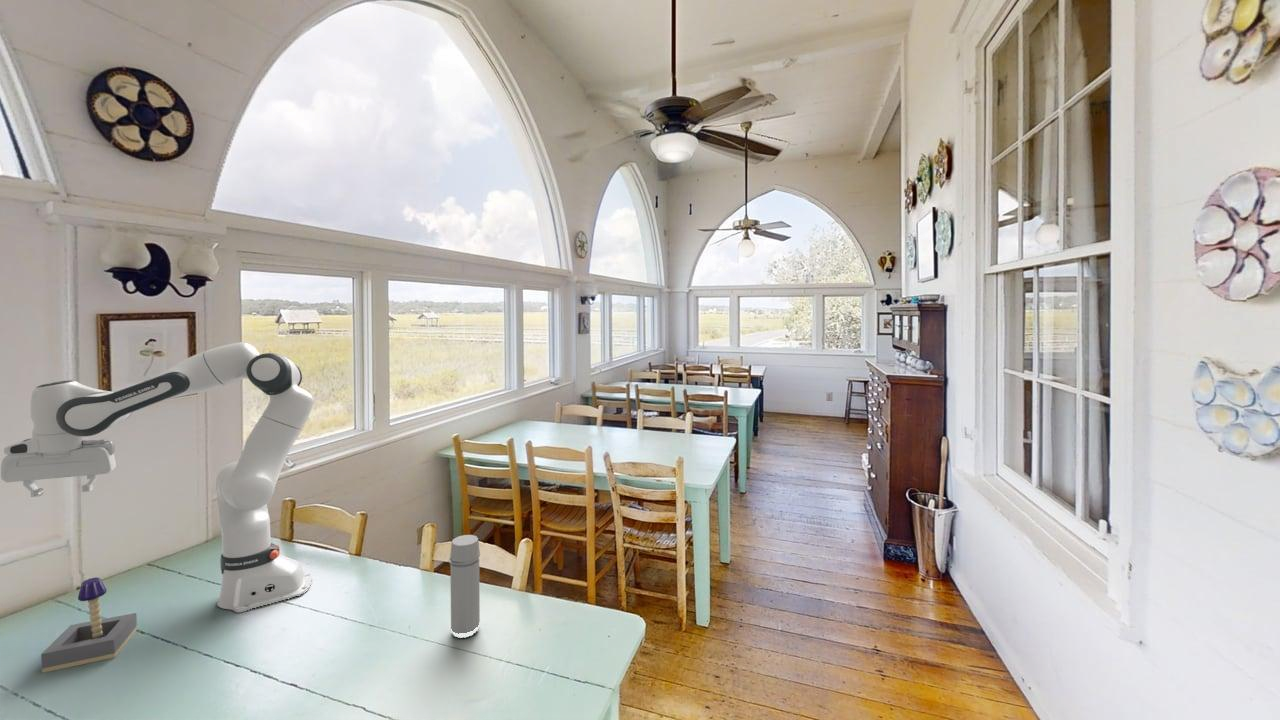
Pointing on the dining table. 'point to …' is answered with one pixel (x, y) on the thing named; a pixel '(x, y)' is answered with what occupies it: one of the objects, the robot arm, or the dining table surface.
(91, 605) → the toy lamp
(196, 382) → the robot arm
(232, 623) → the dining table surface
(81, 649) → the socket block
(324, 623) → the dining table surface
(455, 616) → the water bottle
